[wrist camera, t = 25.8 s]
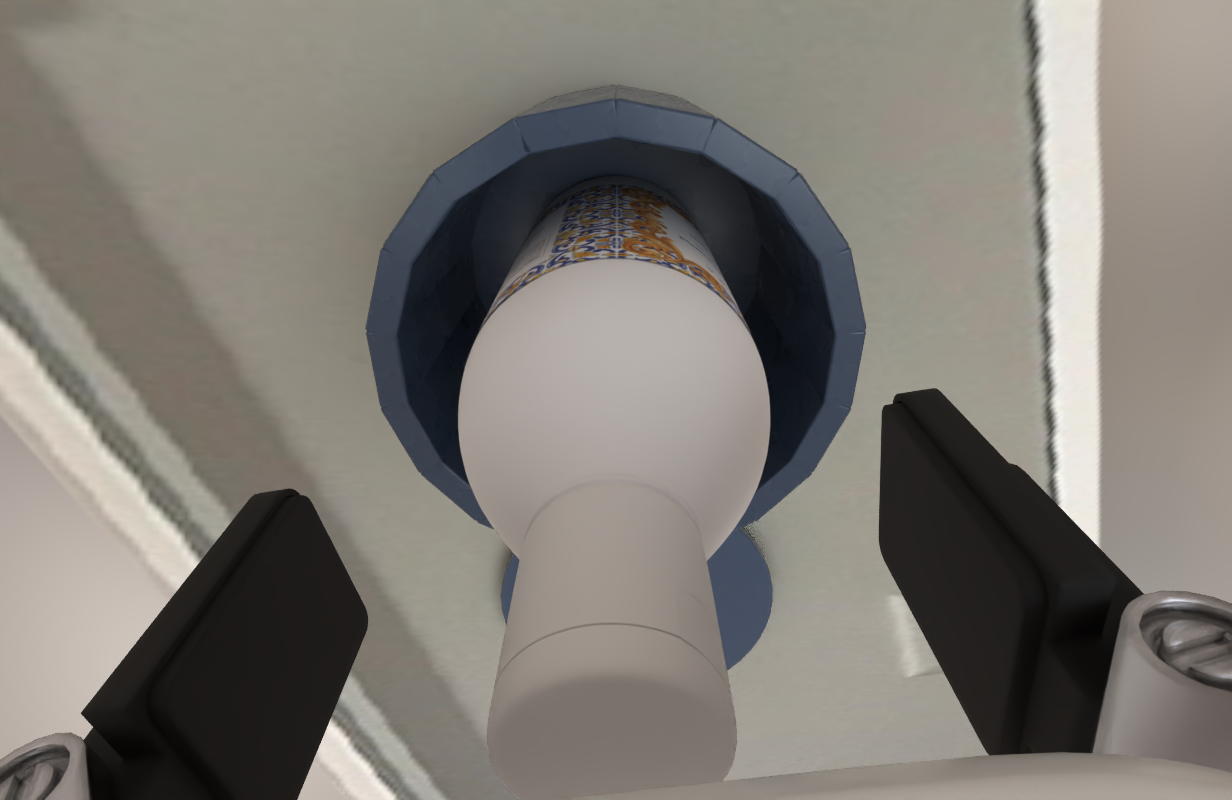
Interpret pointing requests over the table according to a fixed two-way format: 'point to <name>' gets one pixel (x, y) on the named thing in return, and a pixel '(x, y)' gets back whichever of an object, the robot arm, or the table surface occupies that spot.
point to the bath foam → (613, 492)
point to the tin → (723, 211)
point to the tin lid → (717, 593)
